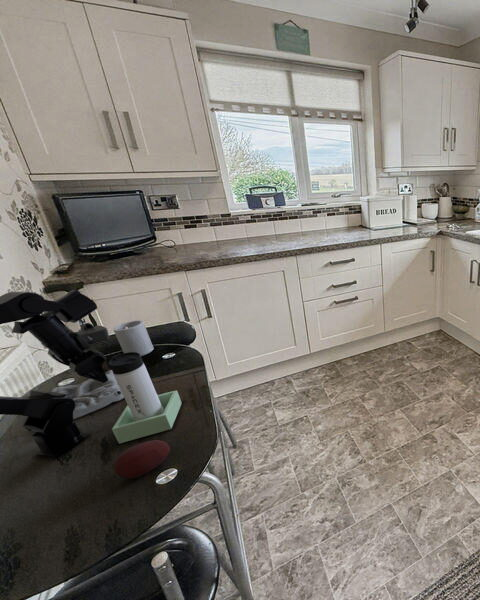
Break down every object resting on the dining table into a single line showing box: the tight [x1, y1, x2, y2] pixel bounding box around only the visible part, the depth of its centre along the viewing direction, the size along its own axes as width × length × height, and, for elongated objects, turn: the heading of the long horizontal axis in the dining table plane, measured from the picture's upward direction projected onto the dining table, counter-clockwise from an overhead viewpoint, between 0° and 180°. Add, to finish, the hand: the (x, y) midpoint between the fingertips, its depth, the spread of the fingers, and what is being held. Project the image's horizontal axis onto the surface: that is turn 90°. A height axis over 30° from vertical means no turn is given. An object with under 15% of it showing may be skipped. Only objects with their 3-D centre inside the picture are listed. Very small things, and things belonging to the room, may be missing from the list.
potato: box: [113, 439, 171, 480], centre depth 73 cm, size 7×10×6 cm
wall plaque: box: [51, 369, 125, 420], centre depth 103 cm, size 24×19×4 cm
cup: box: [112, 319, 155, 357], centre depth 128 cm, size 9×9×12 cm
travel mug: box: [108, 352, 164, 421], centre depth 85 cm, size 6×7×20 cm
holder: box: [111, 390, 183, 444], centre depth 88 cm, size 12×12×5 cm
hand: (98, 376), depth 90 cm, fingers open, 9 cm apart
